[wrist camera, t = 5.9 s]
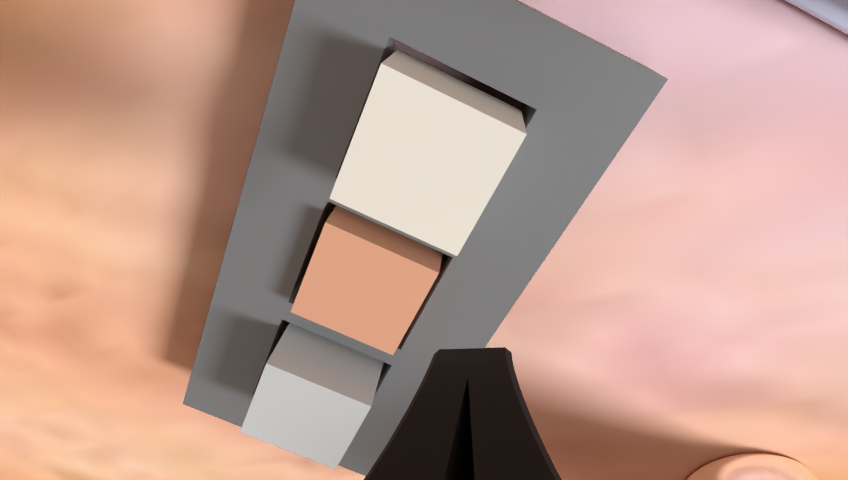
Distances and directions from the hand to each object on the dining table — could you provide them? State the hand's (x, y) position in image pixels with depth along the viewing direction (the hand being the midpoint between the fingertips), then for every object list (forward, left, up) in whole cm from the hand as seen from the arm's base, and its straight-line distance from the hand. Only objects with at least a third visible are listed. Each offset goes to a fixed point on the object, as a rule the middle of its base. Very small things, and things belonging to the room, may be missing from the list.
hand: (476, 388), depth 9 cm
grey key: (+3, +10, -8) cm, 13 cm away
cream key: (+3, -1, -8) cm, 8 cm away
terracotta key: (+2, +4, -9) cm, 10 cm away
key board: (+3, +4, -9) cm, 11 cm away
